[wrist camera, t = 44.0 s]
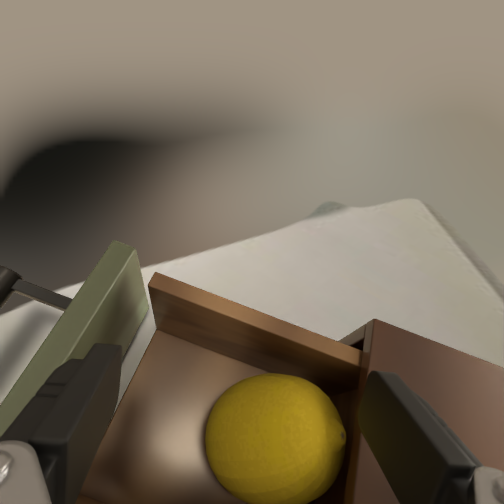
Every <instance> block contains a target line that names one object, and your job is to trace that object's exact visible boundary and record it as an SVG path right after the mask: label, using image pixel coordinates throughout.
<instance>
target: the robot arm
mask: <svg viewBox="0 0 504 504" xmlns="http://www.w3.org/2000/svg"><path fill="white" fill-rule="evenodd" d="M121 362H122V346H121V345H113V344H102V343H95V344H94V345H93V346H92V348H91V349H90V351H89V352H88V353H87V355H86V356H85V358H84V359H70V360H69V361H67V362H65V363H64V364H62V365H61V366H59V367H57V368H56V369H55V370H54V371H53V372H52V374H51V375H50V376H49V377H48V379H47V380H46V381H45V383H44V385H42V386H41V387H40V388H39V390H38V391H37V392H36V394H35V396H33V397H32V398H31V400H30V401H29V402H28V403H27V405H26V406H25V407H24V408H23V410H22V411H21V412H20V413H19V415H18V416H17V417H16V418H15V420H14V421H13V422H12V423H11V425H10V426H9V427H8V428H7V430H6V431H5V432H4V433H3V435H2V436H1V437H0V504H75V502H76V500H77V498H78V495H79V493H80V491H81V488H82V486H83V484H84V481H85V479H86V476H87V474H88V472H89V469H90V467H91V465H92V462H93V460H94V458H95V455H96V453H97V450H98V448H99V446H100V443H101V441H102V439H103V436H104V434H105V432H106V429H107V427H108V424H109V422H110V420H111V417H112V415H113V413H114V410H115V407H116V403H117V399H118V394H119V385H120V374H121ZM358 424H359V428H360V430H361V432H362V434H363V436H364V438H365V440H366V442H367V444H368V445H369V447H370V449H371V451H372V453H373V455H374V457H375V458H376V460H377V462H378V464H379V466H380V468H381V470H382V472H383V473H384V475H385V477H386V479H387V481H388V483H389V485H390V486H391V488H392V490H393V492H394V494H395V496H396V498H397V500H398V501H399V503H400V504H504V472H503V471H500V470H498V469H495V468H492V467H485V466H484V465H483V464H482V463H481V462H480V461H479V460H478V459H477V458H476V456H475V455H474V454H473V453H472V452H471V451H470V450H469V448H468V447H467V446H466V445H465V444H464V443H463V442H462V441H461V439H460V438H459V437H458V436H457V435H456V434H455V433H454V431H453V430H452V429H451V428H448V425H447V424H446V422H445V421H444V420H443V419H442V418H441V417H439V416H438V413H437V412H436V411H435V410H434V409H433V408H432V407H431V405H430V404H429V403H428V402H427V401H426V400H424V399H423V398H422V397H420V396H419V395H418V394H416V393H415V392H414V391H412V390H411V389H410V388H409V387H408V386H407V385H406V383H405V382H404V381H403V380H402V379H401V378H400V376H399V375H398V374H396V373H394V372H384V371H371V372H370V373H369V375H368V378H367V381H366V385H365V388H364V391H363V395H362V398H361V401H360V405H359V408H358Z"/></svg>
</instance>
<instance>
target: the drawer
mask: <svg viewBox="0 0 504 504" xmlns="http://www.w3.org/2000/svg"><path fill="white" fill-rule="evenodd" d="M23 280H24V279H23V278H22V277H21V276H20V275H19V274H17V273H16V272H14V271H12V270H10V269H8V268H6V267H4V266H1V265H0V310H1V308H2V307H3V306H4V305H5V303H6V302H7V301H8V300H9V298H10V297H11V296H12V295H13V293H14V292H16V293H18V294H20V295H23V296H26V297H29V298H31V299H33V300H36V301H39V302H41V303H44V304H47V305H49V306H52V307H54V308H57V309H60V310H62V311H65V312H64V313H63V315H62V316H61V317H60V319H59V320H58V322H57V323H56V325H55V326H54V328H53V329H52V331H51V332H50V334H49V335H48V337H47V338H46V339H45V341H44V342H43V344H42V345H41V347H40V348H39V350H38V351H37V353H36V354H35V356H34V357H33V358H32V360H31V361H30V363H29V364H28V366H27V367H26V369H25V370H24V372H23V373H22V375H21V376H20V377H19V379H18V380H17V382H16V383H15V385H14V386H13V388H12V389H11V391H10V392H9V394H8V395H7V396H6V398H5V399H4V401H3V402H2V404H1V405H0V437H1V436H2V435H3V433H4V432H5V431H6V430H7V428H8V427H9V426H10V425H11V423H12V422H13V421H14V420H15V418H16V417H17V416H18V415H19V413H20V412H21V411H22V410H23V408H24V407H25V406H26V405H27V403H28V402H29V401H30V400H31V398H32V397H33V396H35V394H36V392H37V391H38V390H39V388H40V387H41V386H42V385H44V383H45V381H46V380H47V379H48V377H49V376H50V375H51V374H52V372H53V371H54V370H55V369H56V368H57V367H59V366H61V365H62V364H64V363H65V362H67V361H69V360H70V359H84V358H85V356H86V355H87V353H88V352H89V351H90V349H91V348H92V346H93V345H94V344H95V343H102V344H113V345H121V346H122V358H123V356H124V354H125V352H126V350H127V348H128V347H129V345H130V343H131V341H132V339H133V337H134V335H135V333H136V332H137V330H138V328H139V326H140V324H141V322H142V320H143V318H144V316H145V315H146V313H147V311H148V309H149V306H148V301H147V297H146V292H145V288H144V283H143V279H142V274H141V270H140V265H139V261H138V256H137V252H136V249H135V248H134V247H131V246H128V245H126V244H123V243H120V242H118V241H115V240H113V241H112V243H111V244H110V246H109V248H108V249H107V250H106V252H105V253H104V255H103V256H102V258H101V259H100V261H99V262H98V263H97V265H96V266H95V268H94V269H93V271H92V272H91V274H90V275H89V277H88V278H87V279H86V281H85V282H84V284H83V285H82V287H81V288H80V290H79V291H78V293H77V294H76V296H75V297H74V298H73V299H71V298H68V297H65V296H63V295H60V294H57V293H55V292H52V291H50V290H47V289H44V288H42V287H39V286H37V285H34V284H31V283H29V282H26V281H23ZM148 289H149V294H150V299H151V304H152V309H153V314H154V319H155V324H156V331H155V333H154V335H153V337H152V339H151V341H150V343H149V345H148V347H147V349H146V351H145V353H144V355H143V357H142V359H141V361H140V363H139V365H138V367H137V369H136V371H135V373H134V375H133V377H132V379H131V381H130V383H129V385H128V387H127V389H126V391H125V393H124V395H123V397H122V399H121V401H120V403H119V405H118V407H117V409H116V411H115V413H114V415H113V417H112V419H111V421H110V423H109V425H108V427H107V429H106V432H105V434H104V436H103V439H102V441H101V443H100V446H99V448H98V450H97V453H96V455H95V458H94V460H93V462H92V465H91V467H90V469H89V472H88V474H87V476H86V479H85V481H84V484H83V486H82V488H81V491H80V493H79V495H78V498H77V500H76V502H75V504H248V503H246V502H244V501H242V500H240V499H238V498H236V497H234V496H233V495H232V494H230V493H229V492H228V491H227V490H226V489H225V488H224V487H223V486H222V485H221V483H220V482H219V481H218V480H217V478H216V476H215V474H214V472H213V471H212V469H211V467H210V464H209V461H208V457H207V454H206V444H205V435H206V426H207V423H208V419H209V415H210V413H211V411H212V409H213V407H214V405H215V403H216V402H217V400H218V399H219V398H220V397H221V395H222V394H223V393H224V392H225V391H226V390H227V389H228V388H230V387H231V386H233V385H234V384H236V383H237V382H239V381H241V380H243V379H245V378H248V377H252V376H256V375H260V374H267V373H276V374H285V375H292V376H297V377H300V378H303V379H305V380H307V381H309V382H311V383H313V384H314V385H316V386H317V387H319V388H320V389H321V390H322V391H323V392H324V393H325V394H326V395H327V396H328V397H329V398H330V400H331V401H332V403H333V404H334V406H335V407H336V409H337V411H338V413H339V416H340V418H341V420H342V424H343V427H344V429H345V432H346V442H345V443H346V445H345V455H344V460H343V464H342V467H341V469H340V472H339V474H338V476H337V478H336V480H335V481H334V483H333V484H332V486H331V487H330V488H329V489H328V490H327V491H326V492H325V493H324V494H323V495H322V496H320V497H319V498H317V499H315V500H313V501H311V502H309V503H307V504H344V496H345V488H346V480H347V473H348V465H349V457H350V449H351V441H352V433H353V425H354V418H355V410H356V402H357V394H358V386H359V378H360V370H361V363H362V355H363V351H361V350H358V349H356V348H353V347H350V346H348V345H345V344H343V343H340V342H337V341H335V340H332V339H330V338H327V337H324V336H322V335H319V334H317V333H314V332H311V331H309V330H306V329H303V328H301V327H298V326H296V325H293V324H290V323H288V322H285V321H283V320H280V319H277V318H275V317H272V316H270V315H267V314H264V313H262V312H259V311H256V310H254V309H251V308H249V307H246V306H243V305H241V304H238V303H236V302H233V301H230V300H228V299H225V298H222V297H220V296H217V295H215V294H212V293H209V292H207V291H204V290H202V289H199V288H196V287H194V286H191V285H189V284H186V283H183V282H181V281H178V280H175V279H173V278H170V277H168V276H165V275H162V274H160V273H157V272H155V273H154V275H153V277H152V278H151V280H150V282H149V284H148Z"/></svg>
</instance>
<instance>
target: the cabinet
mask: <svg viewBox="0 0 504 504" xmlns="http://www.w3.org/2000/svg"><path fill="white" fill-rule="evenodd" d="M338 342H340V343H343V344H345V345H348V346H350V347H353V348H356V349H358V350H361V351H363V355H362V363H361V370H360V378H359V386H358V394H357V402H356V410H355V418H354V425H353V433H352V441H351V449H350V457H349V465H348V473H347V480H346V488H345V496H344V504H400V503H399V501H398V500H397V498H396V496H395V494H394V492H393V490H392V488H391V486H390V485H389V483H388V481H387V479H386V477H385V475H384V473H383V472H382V470H381V468H380V466H379V464H378V462H377V460H376V458H375V457H374V455H373V453H372V451H371V449H370V447H369V445H368V444H367V442H366V440H365V438H364V436H363V434H362V432H361V430H360V428H359V424H358V408H359V405H360V401H361V398H362V395H363V391H364V388H365V385H366V381H367V378H368V375H369V373H370V372H371V371H384V372H394V373H396V374H398V375H399V376H400V378H401V379H402V380H403V381H404V382H405V383H406V385H407V386H408V387H409V388H410V389H411V390H412V391H414V392H415V393H416V394H418V395H419V396H420V397H422V398H423V399H424V400H426V401H427V402H428V403H429V404H430V405H431V407H432V408H433V409H434V410H435V411H436V412H437V413H438V416H439V417H441V418H442V419H443V420H444V421H445V422H446V424H447V425H448V428H451V429H452V430H453V431H454V433H455V434H456V435H457V436H458V437H459V438H460V439H461V441H462V442H463V443H464V444H465V445H466V446H467V447H468V448H469V450H470V451H471V452H472V453H473V454H474V455H475V456H476V458H477V459H478V460H479V461H480V462H481V463H482V464H483V465H484V466H485V467H492V468H495V469H498V470H500V471H503V472H504V368H503V367H500V366H498V365H495V364H492V363H490V362H487V361H485V360H482V359H479V358H477V357H474V356H471V355H469V354H466V353H464V352H461V351H458V350H456V349H453V348H451V347H448V346H445V345H443V344H440V343H437V342H435V341H432V340H430V339H427V338H424V337H422V336H419V335H417V334H414V333H411V332H409V331H406V330H404V329H401V328H398V327H396V326H393V325H390V324H388V323H385V322H383V321H380V320H377V319H373V320H371V321H369V322H368V323H367V324H365V325H363V326H362V327H360V328H359V329H357V330H355V331H354V332H352V333H351V334H349V335H347V336H346V337H344V338H343V339H341V340H339V341H338Z"/></svg>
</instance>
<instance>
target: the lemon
mask: <svg viewBox="0 0 504 504" xmlns="http://www.w3.org/2000/svg"><path fill="white" fill-rule="evenodd" d="M345 442H346V432H345V429H344V427H343V424H342V420H341V418H340V416H339V413H338V411H337V409H336V407H335V406H334V404H333V403H332V401H331V400H330V398H329V397H328V396H327V395H326V394H325V393H324V392H323V391H322V390H321V389H320V388H319V387H317V386H316V385H314V384H313V383H311V382H309V381H307V380H305V379H303V378H300V377H297V376H292V375H285V374H276V373H267V374H260V375H256V376H252V377H248V378H245V379H243V380H241V381H239V382H237V383H236V384H234V385H233V386H231V387H230V388H228V389H227V390H226V391H225V392H224V393H223V394H222V395H221V397H220V398H219V399H218V400H217V402H216V403H215V405H214V407H213V409H212V411H211V413H210V415H209V419H208V423H207V426H206V435H205V444H206V454H207V457H208V461H209V464H210V467H211V469H212V471H213V472H214V474H215V476H216V478H217V480H218V481H219V482H220V483H221V485H222V486H223V487H224V488H225V489H226V490H227V491H228V492H229V493H230V494H232V495H233V496H234V497H236V498H238V499H240V500H242V501H244V502H246V503H248V504H307V503H309V502H311V501H313V500H315V499H317V498H319V497H320V496H322V495H323V494H324V493H325V492H326V491H327V490H328V489H329V488H330V487H331V486H332V484H333V483H334V481H335V480H336V478H337V476H338V474H339V472H340V469H341V467H342V464H343V460H344V455H345V445H346V443H345Z"/></svg>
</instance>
